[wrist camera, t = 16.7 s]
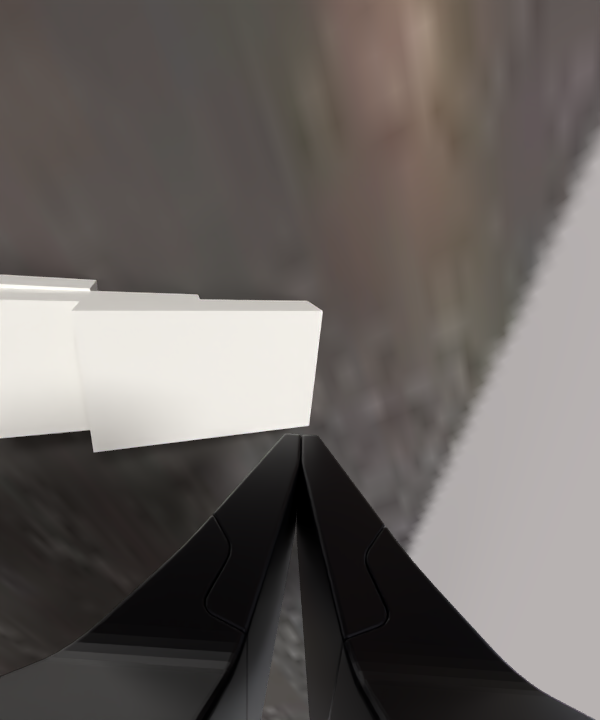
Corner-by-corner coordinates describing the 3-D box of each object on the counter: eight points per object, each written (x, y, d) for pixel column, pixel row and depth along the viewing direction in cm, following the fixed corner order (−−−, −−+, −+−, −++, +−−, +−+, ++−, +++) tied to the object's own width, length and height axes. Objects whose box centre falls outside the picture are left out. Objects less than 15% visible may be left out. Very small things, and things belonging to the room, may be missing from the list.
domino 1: (202, 304, 13) (-87, 297, 10) (200, 419, 15) (-42, 442, 12) (197, 294, 14) (-57, 285, 11) (197, 401, 16) (-21, 417, 13)
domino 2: (322, 310, 13) (71, 310, 10) (308, 425, 15) (93, 452, 12) (307, 300, 14) (82, 297, 11) (296, 406, 16) (100, 426, 13)
